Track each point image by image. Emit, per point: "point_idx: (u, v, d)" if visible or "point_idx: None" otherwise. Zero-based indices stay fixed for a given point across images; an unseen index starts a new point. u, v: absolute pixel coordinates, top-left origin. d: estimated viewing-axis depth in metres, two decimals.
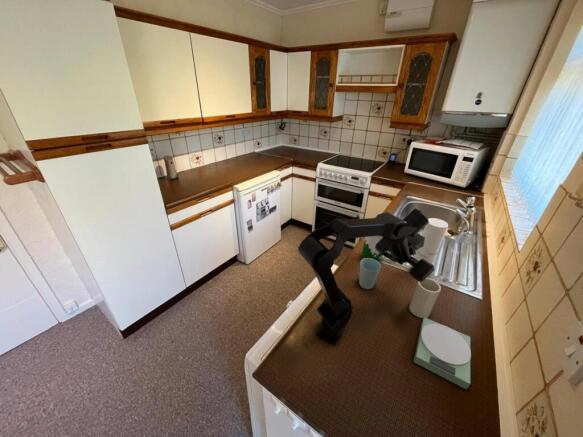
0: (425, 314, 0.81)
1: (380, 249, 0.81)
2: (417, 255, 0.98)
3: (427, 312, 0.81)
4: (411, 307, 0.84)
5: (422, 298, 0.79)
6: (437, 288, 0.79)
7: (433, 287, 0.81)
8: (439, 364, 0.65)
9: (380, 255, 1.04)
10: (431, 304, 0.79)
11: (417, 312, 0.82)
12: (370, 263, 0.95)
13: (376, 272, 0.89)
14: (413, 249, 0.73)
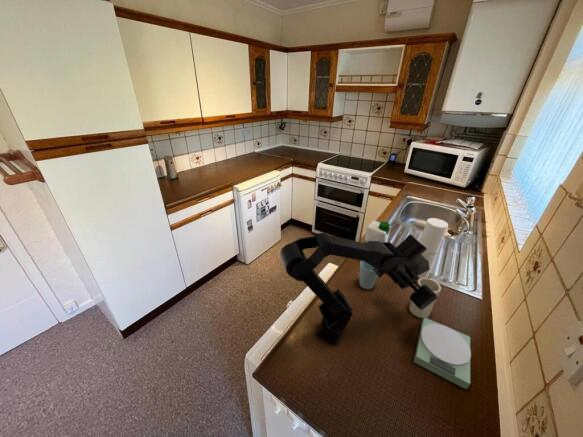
0: (425, 314, 0.81)
1: None
2: None
3: (427, 312, 0.81)
4: (411, 307, 0.84)
5: None
6: (437, 288, 0.79)
7: (433, 287, 0.81)
8: (439, 364, 0.65)
9: None
10: (431, 304, 0.79)
11: (417, 312, 0.82)
12: None
13: None
14: (414, 275, 0.70)
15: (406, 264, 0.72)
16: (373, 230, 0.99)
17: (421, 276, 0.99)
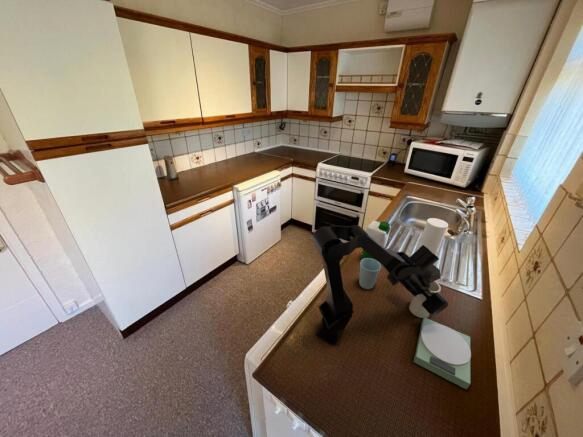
0: (425, 313, 0.81)
1: None
2: None
3: (427, 312, 0.81)
4: (411, 307, 0.84)
5: (422, 298, 0.79)
6: (437, 288, 0.79)
7: (433, 287, 0.81)
8: (439, 364, 0.65)
9: None
10: None
11: (417, 312, 0.82)
12: (370, 263, 0.95)
13: (376, 272, 0.89)
14: (426, 283, 0.73)
15: (418, 272, 0.76)
16: (373, 230, 0.99)
17: None
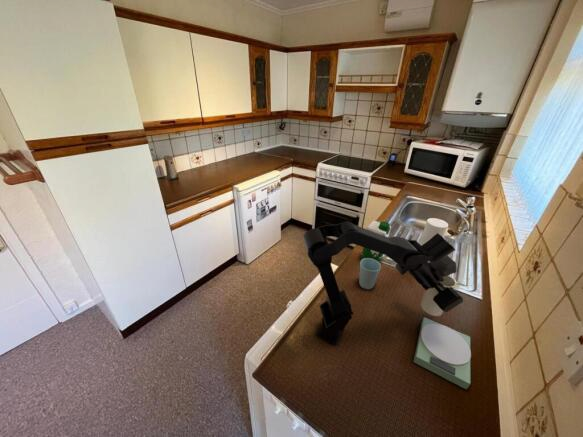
0: (438, 311, 0.75)
1: None
2: None
3: (440, 309, 0.74)
4: (422, 303, 0.78)
5: (435, 294, 0.73)
6: (453, 284, 0.73)
7: (449, 283, 0.75)
8: (439, 364, 0.65)
9: (380, 255, 1.04)
10: None
11: (429, 309, 0.76)
12: (370, 263, 0.95)
13: (376, 272, 0.89)
14: (439, 276, 0.67)
15: (431, 264, 0.70)
16: (373, 230, 0.99)
17: None
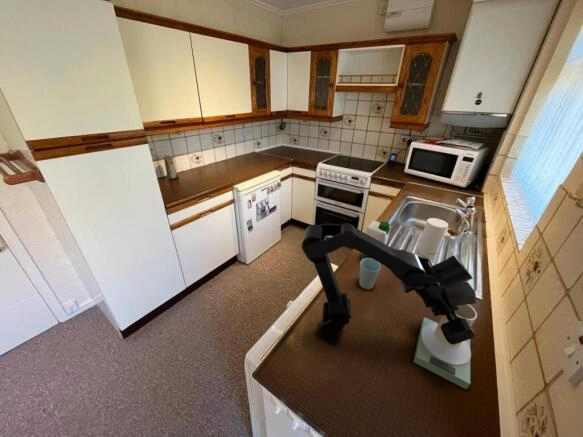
0: None
1: None
2: (417, 255, 0.98)
3: None
4: (436, 331, 0.70)
5: None
6: (473, 317, 0.63)
7: (469, 315, 0.65)
8: (439, 364, 0.65)
9: None
10: None
11: (441, 338, 0.68)
12: (370, 263, 0.95)
13: (376, 272, 0.89)
14: (451, 303, 0.60)
15: (446, 289, 0.63)
16: (373, 230, 0.99)
17: None
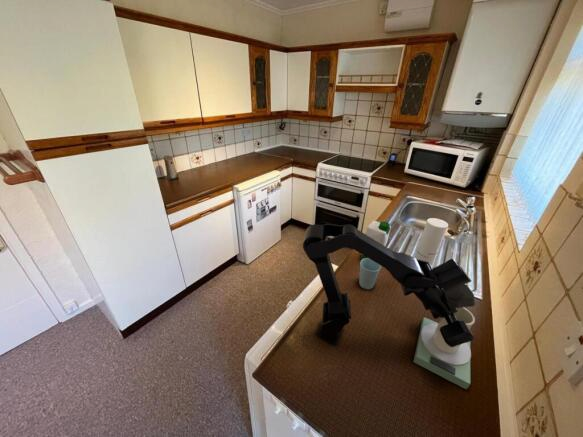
0: (449, 347, 0.67)
1: None
2: (417, 255, 0.98)
3: None
4: (434, 335, 0.71)
5: None
6: (471, 322, 0.64)
7: (467, 319, 0.66)
8: (439, 364, 0.65)
9: None
10: None
11: (439, 342, 0.69)
12: (370, 263, 0.95)
13: (376, 272, 0.89)
14: (450, 305, 0.60)
15: (445, 292, 0.63)
16: (373, 230, 0.99)
17: None
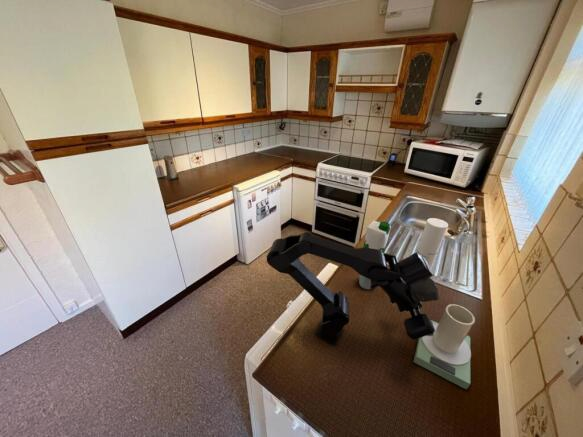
0: (449, 347, 0.67)
1: None
2: None
3: (452, 346, 0.67)
4: (434, 335, 0.71)
5: (447, 327, 0.66)
6: (471, 322, 0.64)
7: (467, 319, 0.66)
8: (439, 364, 0.65)
9: None
10: (458, 338, 0.65)
11: (439, 342, 0.69)
12: None
13: None
14: (415, 299, 0.61)
15: (411, 285, 0.64)
16: (373, 230, 0.99)
17: None
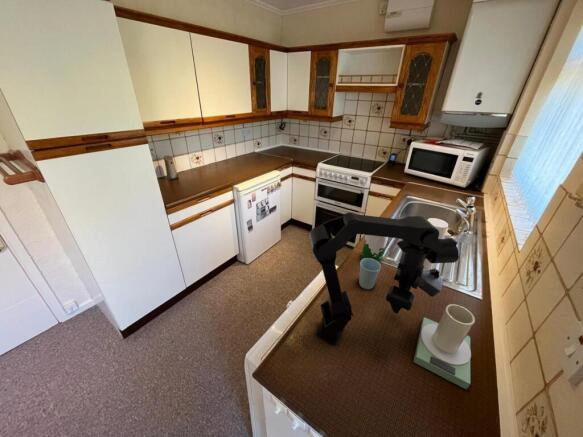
0: (449, 347, 0.67)
1: None
2: None
3: (452, 346, 0.67)
4: (434, 335, 0.71)
5: (447, 327, 0.66)
6: (471, 322, 0.64)
7: (467, 319, 0.66)
8: (439, 364, 0.65)
9: (380, 255, 1.04)
10: (458, 338, 0.65)
11: (439, 342, 0.69)
12: (370, 263, 0.95)
13: (376, 272, 0.89)
14: (417, 280, 0.63)
15: (423, 271, 0.65)
16: None
17: None
